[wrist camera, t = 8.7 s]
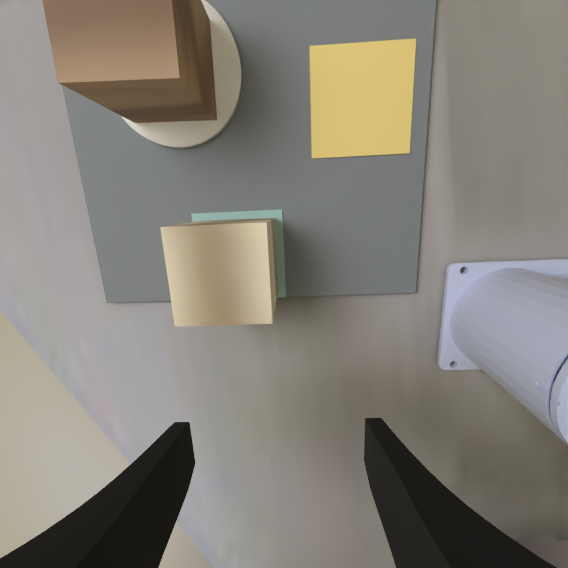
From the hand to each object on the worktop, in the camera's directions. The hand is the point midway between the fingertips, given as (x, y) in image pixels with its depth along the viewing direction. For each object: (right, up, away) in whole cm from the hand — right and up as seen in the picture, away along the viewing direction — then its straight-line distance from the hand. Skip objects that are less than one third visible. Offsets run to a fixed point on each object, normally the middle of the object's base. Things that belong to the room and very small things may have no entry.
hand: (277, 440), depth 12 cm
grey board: (-2, +14, +7) cm, 16 cm away
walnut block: (-6, +18, +5) cm, 20 cm away
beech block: (-3, +8, +8) cm, 12 cm away
